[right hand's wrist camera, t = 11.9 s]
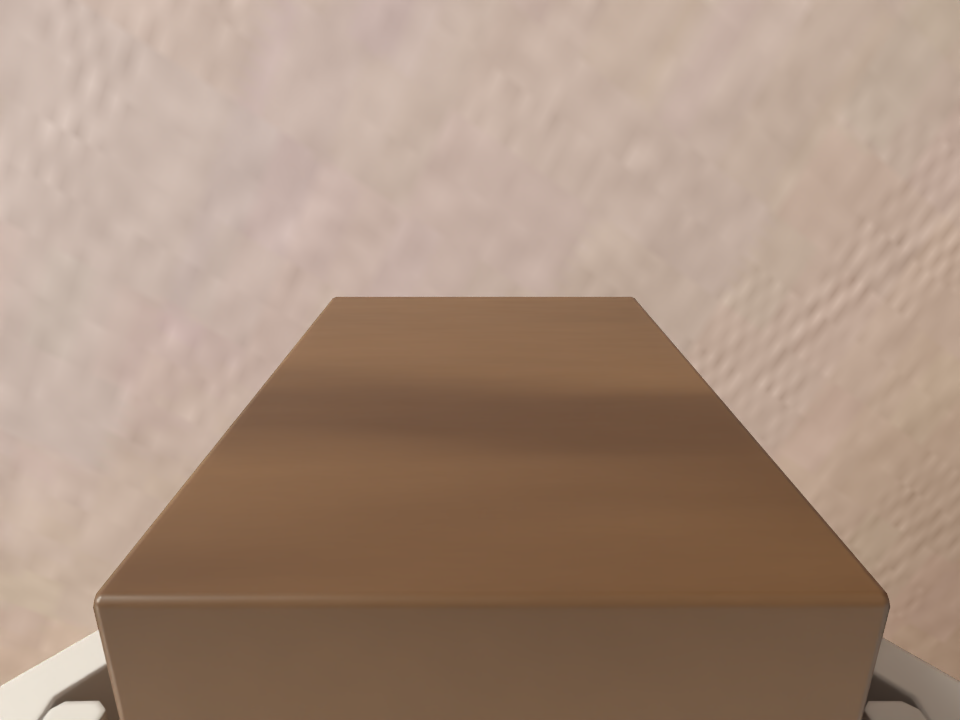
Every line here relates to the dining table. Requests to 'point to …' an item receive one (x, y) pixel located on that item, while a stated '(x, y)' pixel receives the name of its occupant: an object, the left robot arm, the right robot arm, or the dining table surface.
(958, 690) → the right robot arm
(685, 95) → the dining table surface
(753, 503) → the bar
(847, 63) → the dining table surface
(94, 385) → the dining table surface
